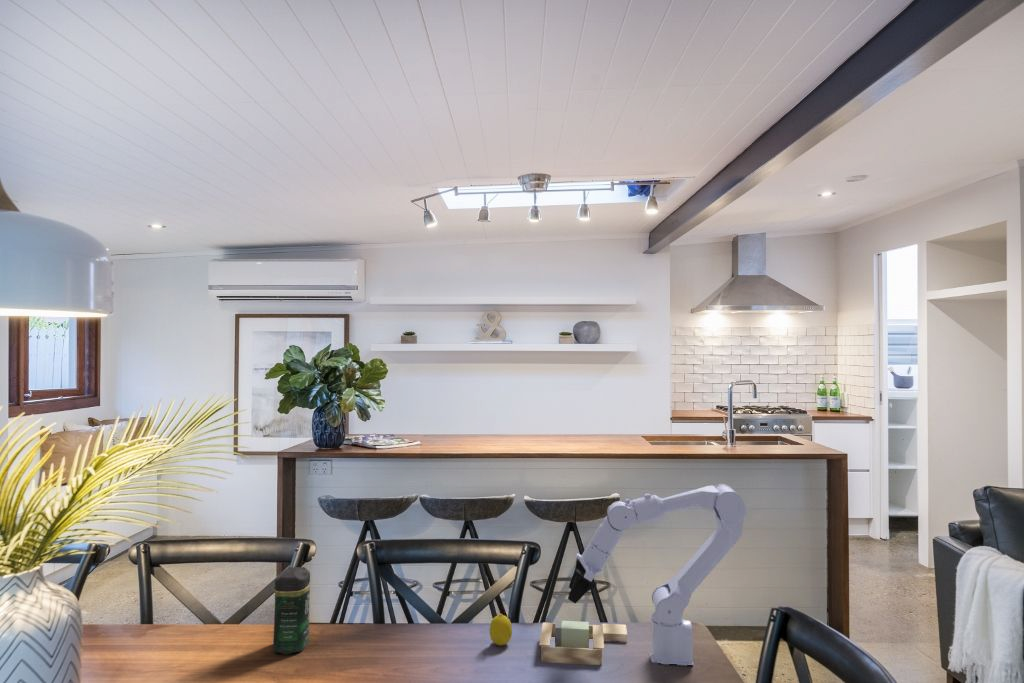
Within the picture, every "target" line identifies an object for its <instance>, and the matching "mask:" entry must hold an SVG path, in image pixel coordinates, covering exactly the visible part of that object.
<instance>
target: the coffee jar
mask: <svg viewBox="0 0 1024 683" xmlns="http://www.w3.org/2000/svg"><path fill="white" fill-rule="evenodd" d="M310 589H311V572H310V571H309V570H308V569H307V568H306V567H302V566H301V567H300V566H299V567H296V566H295V567H294V566H291V567H290V566H289V567H288V568H287V569H285V570H283V571H281V573H280V574H278V575H277V577H276V578H275V580H274V589H273V590H274V616H273V621H274V622H273V642H272V643H273V644H272V650H273V652H275V653H279V654H282V655H288V654H289V655H291V654H293V653H298V652H301V651H303V650H304V649H305V648H306V646H307V645H308V644H309V641H310V592H311V591H310Z"/></svg>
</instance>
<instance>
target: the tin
mask: <svg viewBox="0 0 1024 683" xmlns="http://www.w3.org/2000/svg"><path fill="white" fill-rule="evenodd" d="M555 623H556V624H555V647H570V648H589V625H590V622H589V621H579V620H578V621H576V620H575V621H574V620H571V621H570V620H557V619H556V620H555Z"/></svg>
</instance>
